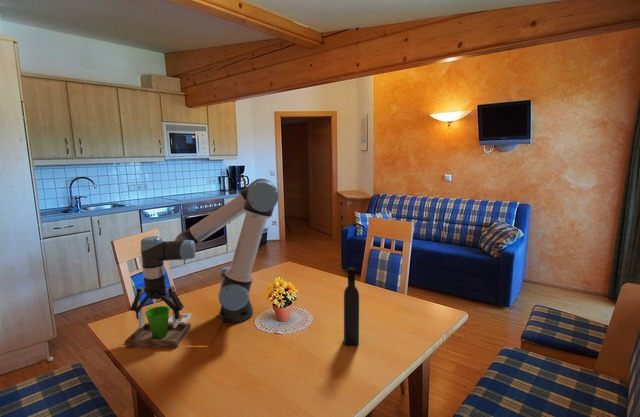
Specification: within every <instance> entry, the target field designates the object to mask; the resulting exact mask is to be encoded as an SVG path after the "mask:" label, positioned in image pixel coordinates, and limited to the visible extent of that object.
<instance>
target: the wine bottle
mask: <svg viewBox="0 0 640 417" xmlns="http://www.w3.org/2000/svg"><path fill="white" fill-rule="evenodd" d="M346 274H347V286H346V287H345V288H344V291H343V344H344V345H345V344H346V345H345V346H358V345H360V344H359V343H360V342H359V341H360V294H359V292H360V291H359V289H358V287H356V268H355V267H347V273H346Z"/></svg>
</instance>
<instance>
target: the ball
mask: <svg viewBox="0 0 640 417" xmlns="http://www.w3.org/2000/svg"><path fill="white" fill-rule="evenodd" d="M183 314H184V313H182V312H180V311H179V318H178V321H179V320H181V319H182V318H183Z"/></svg>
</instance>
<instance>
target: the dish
mask: <svg viewBox="0 0 640 417" xmlns="http://www.w3.org/2000/svg"><path fill="white" fill-rule="evenodd" d="M182 314H183V318H182V319H181V320H179V321H178V323H188V321H189V320H190V318H192V316H193V315H192V313H182ZM168 323H173V319H172V315H171V316H170V317H169V318H168Z"/></svg>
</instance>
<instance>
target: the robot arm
mask: <svg viewBox="0 0 640 417" xmlns="http://www.w3.org/2000/svg"><path fill="white" fill-rule="evenodd" d="M278 202H279V191H278V189H277V187H276V186H275V184H274V183H272V182H271V181H270V180H268V179H265V178H256V179H255V180H253V181H252V182H251V183H250V184H249V185H248V186H246V187H245V188H243V189H242V190H240V191H239V193H238V195H237V196H235V197H234V198H233V199H231V200H230V201H228V202H227V203H226V204H224V205H223V206H221V207H219V208H218V209H216V210H215V211H213V212H211V213H210V214H209V215H207V216H206V217H204V218H202V219H201V220H200V221H198V222H197V223H195V224H194V225H192V226H190V227H189V228H188V229H186V230H185V231H182V232H180V233H179V234H178V235H177V236H176V238H175V239H174V240H171V241H169V240H168V241H163V239H162V237H161V236H158V235H157V236H156V235H152V236H145V237H143V238H142V239H141V240H140V254H141V264H142V273H143V285H144V287H143V286H141V285H140V286H138V288H137V289H136V295H135V297H134V299H133V301H132V304H131V307H130V309H129V310H130V311H131V312H132V311H133V312H135V315H136V316H135V318H136V320H138V328H142V327H143V326H144V325H145V323H146V322H145V316H144V315H145V313H144V309H143V307H144V306H145V305H146V304H147V302H148V301H149V300H150V299H151V300H161V301H162V302H164V303H165V304H166V306H168V307H169V308H170V310H172V312H171V316H172V319H173V328H176V326H177V325H178V318H179V312H180V311H182V310H183V309H184V308H185V307H184V304H183V303H182V302H181V300H180V298H179V296H178V295H177V293H176V290H175V287H174V286H170V287H166V275H165V264H164V261H165V262H166V261H181V260H183V261H184V260H191V259H194V258H195V257H196V252H197V250H196V246H197V245H199V244H200V243H201V242H203V241H205V239H208V237H210V236H212V235H213V234H215V233H216V232H217V231H219V230H221V229H222V228H223V227H225V226H227V225H228V224H229V223H231V222H232V221H234V220H236V219H238V218H239V217H240V216H242V215H243V214H245V217H244V220H243V222H242V227H241V230H240V233H239V236H238V239H237V244H236V247H235V251H234V254H233V257H232V260H231V264H230V265H229V266H225V267H223V268H221V270H220V280H221V281H220V287H219V293H218V302H219V303H220V308H219V311H218V312H219V313H218V314H219V316H218V317H219V318H220V320H221V321H222V322H224V323H231V324H233V323H241V322H245V321H247V320H249V319H250V318H252V316H254V307H253V306H252V302H251V300H250V290H251V286H252V283H253V280H254V278H253V276H252V271H253V268H254V264H255V260H256V256H257V253H258V250H259V247H260V242H261V240H262V237H263V234H264V229H265V226H266V222H267V220H268V219H270V218H271V217H272V216H273V213H274V210H275V207H276V205H277V204H278ZM143 293H144V294H146V296H145V297H144V298H143V300H142V301H141V302H140V300H141V297H142V296H143ZM139 302H140V304H139Z"/></svg>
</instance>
